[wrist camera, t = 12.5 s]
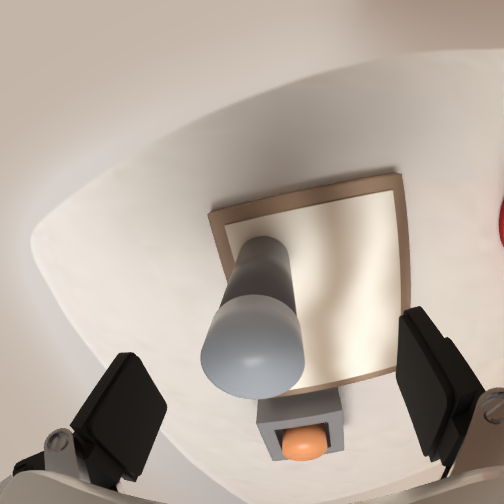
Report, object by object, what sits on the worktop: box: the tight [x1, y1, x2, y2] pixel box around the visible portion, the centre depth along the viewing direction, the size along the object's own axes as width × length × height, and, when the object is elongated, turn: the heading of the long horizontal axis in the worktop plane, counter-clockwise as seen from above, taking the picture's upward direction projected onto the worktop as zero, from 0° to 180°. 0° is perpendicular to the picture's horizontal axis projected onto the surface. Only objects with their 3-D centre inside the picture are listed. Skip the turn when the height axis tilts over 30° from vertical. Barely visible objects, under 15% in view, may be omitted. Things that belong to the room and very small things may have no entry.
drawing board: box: [208, 173, 411, 399], centre depth 22 cm, size 14×18×1 cm
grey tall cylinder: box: [201, 236, 305, 399], centre depth 15 cm, size 4×4×11 cm
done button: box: [282, 423, 327, 461], centre depth 24 cm, size 4×4×3 cm
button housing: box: [256, 387, 344, 461], centre depth 26 cm, size 8×8×4 cm
